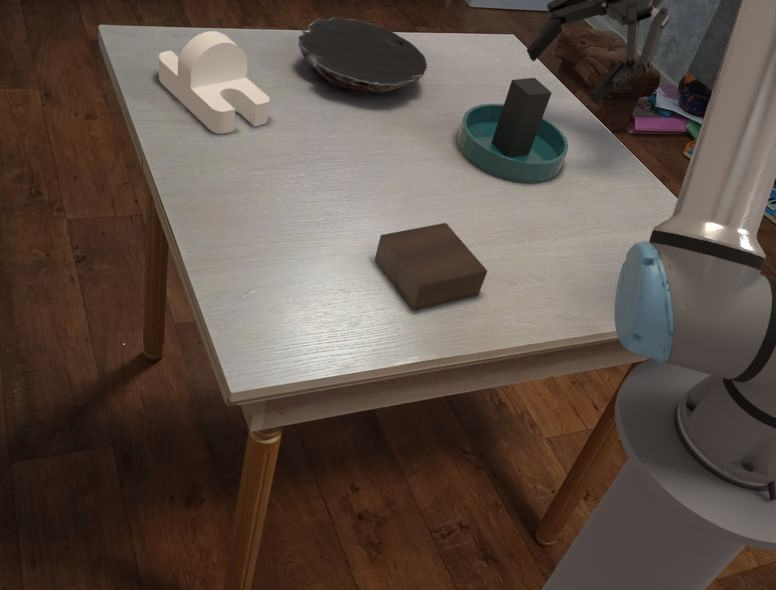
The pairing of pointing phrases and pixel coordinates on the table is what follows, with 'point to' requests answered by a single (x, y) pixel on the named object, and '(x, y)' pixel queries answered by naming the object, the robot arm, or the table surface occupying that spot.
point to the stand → (430, 265)
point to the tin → (487, 157)
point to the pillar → (521, 117)
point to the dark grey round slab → (361, 55)
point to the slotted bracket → (214, 82)
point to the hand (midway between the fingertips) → (560, 76)
